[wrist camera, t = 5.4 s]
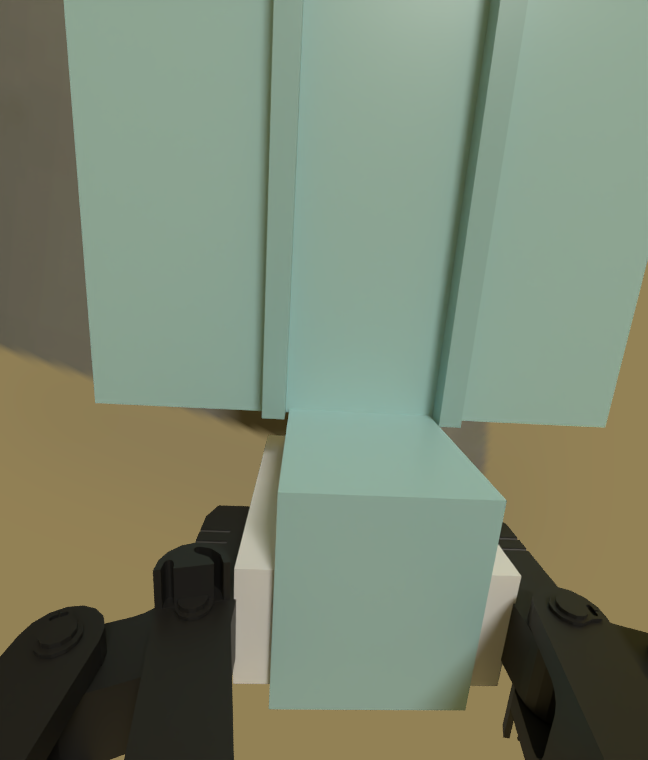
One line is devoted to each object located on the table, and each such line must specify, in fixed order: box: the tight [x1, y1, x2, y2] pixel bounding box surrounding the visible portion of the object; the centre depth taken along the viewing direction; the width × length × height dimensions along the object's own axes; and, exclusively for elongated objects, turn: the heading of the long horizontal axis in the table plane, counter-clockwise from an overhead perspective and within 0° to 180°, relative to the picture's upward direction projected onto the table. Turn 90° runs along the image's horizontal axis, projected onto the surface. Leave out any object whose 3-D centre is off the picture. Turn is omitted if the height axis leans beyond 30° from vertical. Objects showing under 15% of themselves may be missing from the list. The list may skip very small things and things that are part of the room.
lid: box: [64, 0, 648, 710], centre depth 9 cm, size 15×15×6 cm
